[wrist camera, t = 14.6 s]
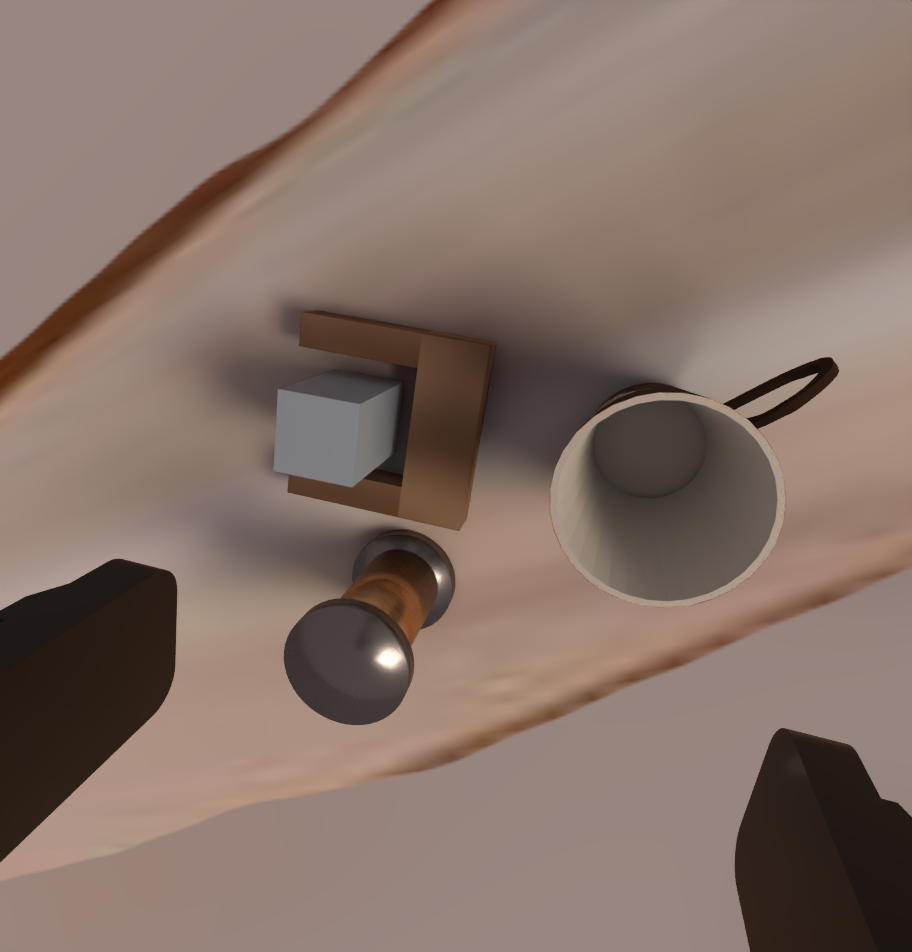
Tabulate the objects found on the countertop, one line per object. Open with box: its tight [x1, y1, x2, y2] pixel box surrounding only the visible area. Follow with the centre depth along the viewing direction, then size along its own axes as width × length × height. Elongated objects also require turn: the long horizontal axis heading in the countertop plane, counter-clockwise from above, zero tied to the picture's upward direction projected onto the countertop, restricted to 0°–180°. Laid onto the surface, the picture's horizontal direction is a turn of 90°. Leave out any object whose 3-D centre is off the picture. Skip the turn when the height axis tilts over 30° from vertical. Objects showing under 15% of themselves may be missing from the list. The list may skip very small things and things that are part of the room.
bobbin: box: [284, 530, 455, 725], centre depth 36 cm, size 6×6×10 cm
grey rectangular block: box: [273, 370, 404, 487], centre depth 35 cm, size 4×4×7 cm
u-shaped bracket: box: [288, 310, 496, 531], centre depth 37 cm, size 10×10×2 cm
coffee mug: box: [550, 357, 839, 608], centre depth 30 cm, size 12×9×10 cm
